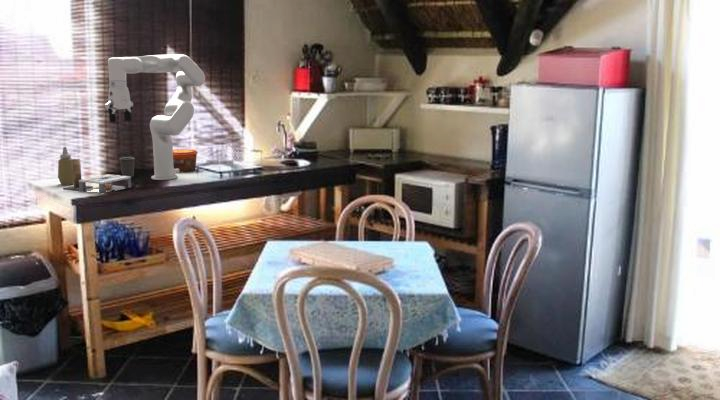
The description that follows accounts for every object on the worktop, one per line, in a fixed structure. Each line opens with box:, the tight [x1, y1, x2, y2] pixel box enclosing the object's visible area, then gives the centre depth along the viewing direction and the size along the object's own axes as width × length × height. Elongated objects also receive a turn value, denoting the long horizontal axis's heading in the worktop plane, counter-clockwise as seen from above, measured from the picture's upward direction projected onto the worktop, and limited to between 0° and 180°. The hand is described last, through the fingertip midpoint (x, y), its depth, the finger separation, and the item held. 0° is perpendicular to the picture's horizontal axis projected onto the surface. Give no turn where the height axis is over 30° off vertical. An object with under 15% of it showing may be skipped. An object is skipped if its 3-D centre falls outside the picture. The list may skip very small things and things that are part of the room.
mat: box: [62, 185, 94, 192], centre depth 326 cm, size 9×9×1 cm
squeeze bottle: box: [57, 146, 74, 186], centre depth 335 cm, size 8×8×18 cm
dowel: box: [71, 158, 82, 188], centre depth 325 cm, size 3×3×13 cm
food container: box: [173, 148, 198, 173], centre depth 379 cm, size 16×16×11 cm
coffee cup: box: [118, 156, 136, 178], centre depth 360 cm, size 8×8×10 cm
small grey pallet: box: [78, 173, 132, 194], centre depth 324 cm, size 18×14×5 cm
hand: (120, 121), depth 329 cm, fingers open, 9 cm apart
